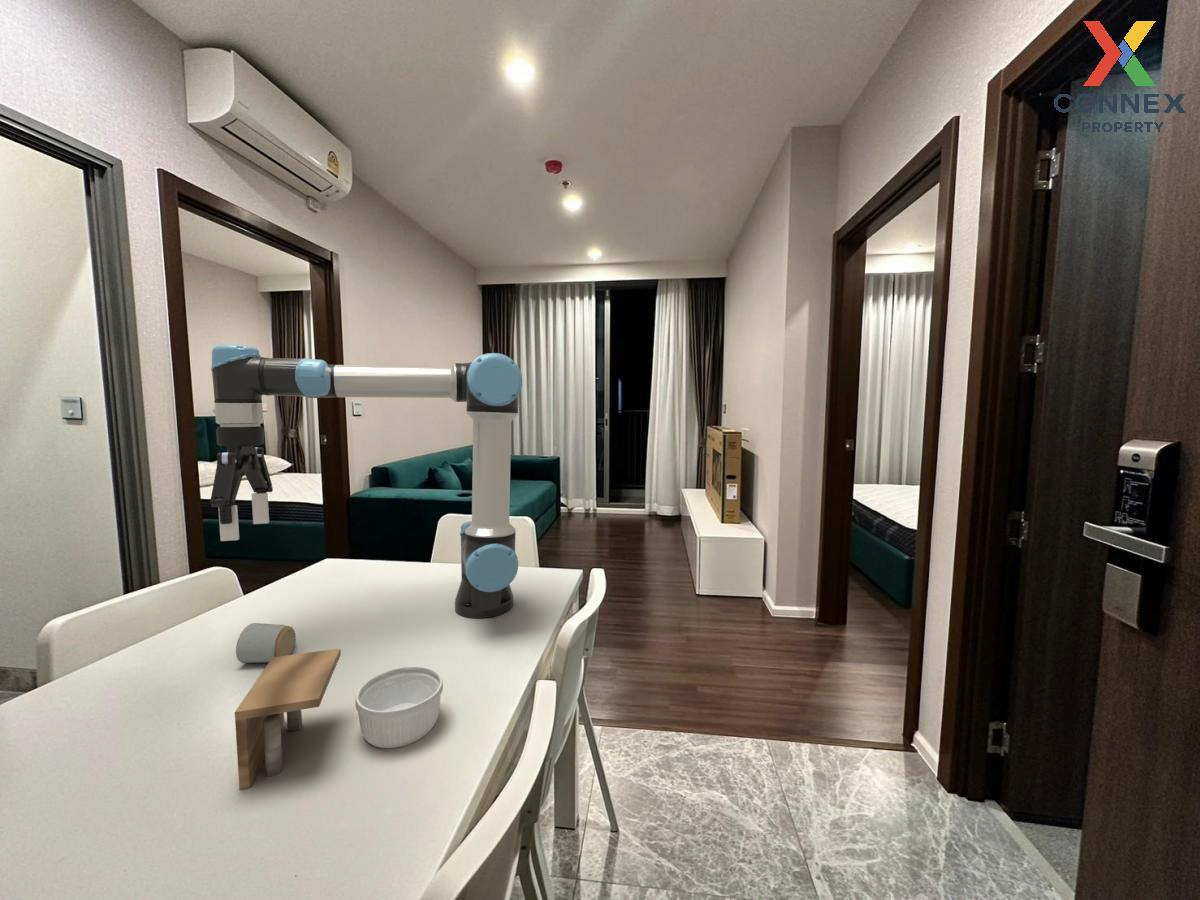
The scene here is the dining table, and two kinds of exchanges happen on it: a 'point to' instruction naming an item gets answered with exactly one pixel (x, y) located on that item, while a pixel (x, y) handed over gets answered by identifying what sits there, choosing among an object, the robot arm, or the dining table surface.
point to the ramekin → (399, 705)
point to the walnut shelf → (278, 708)
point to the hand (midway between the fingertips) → (246, 531)
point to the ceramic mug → (264, 642)
